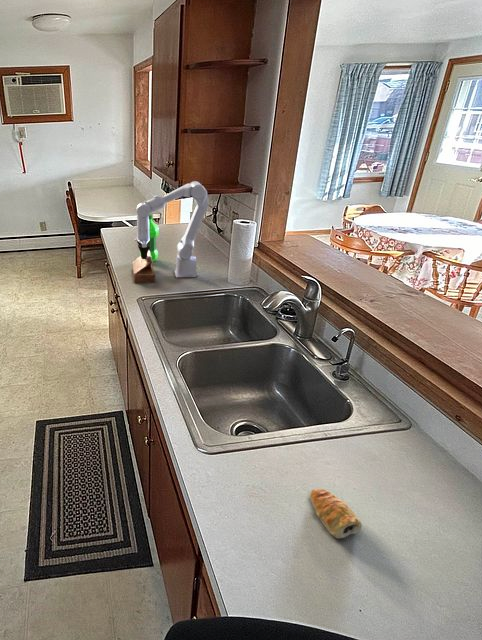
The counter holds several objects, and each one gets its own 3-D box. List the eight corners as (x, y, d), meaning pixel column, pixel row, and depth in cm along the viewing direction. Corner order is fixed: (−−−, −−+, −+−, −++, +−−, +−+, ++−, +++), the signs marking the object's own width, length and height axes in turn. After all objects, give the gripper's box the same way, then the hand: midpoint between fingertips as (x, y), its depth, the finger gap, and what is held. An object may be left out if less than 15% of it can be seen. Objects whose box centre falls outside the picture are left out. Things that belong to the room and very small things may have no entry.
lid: (149, 250, 193) (143, 243, 191) (152, 262, 179) (146, 254, 177) (133, 262, 196) (127, 255, 194) (134, 275, 181) (128, 267, 180)
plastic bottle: (136, 258, 211) (135, 213, 201) (154, 256, 214) (154, 211, 204) (143, 265, 202) (143, 218, 192) (162, 262, 205) (162, 215, 195)
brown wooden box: (151, 269, 197) (151, 262, 195) (154, 282, 183) (154, 274, 181) (132, 270, 197) (132, 263, 196) (134, 282, 183) (134, 275, 181)
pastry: (300, 499, 81) (303, 486, 80) (326, 490, 83) (330, 477, 81) (335, 543, 73) (339, 530, 72) (364, 532, 75) (369, 518, 73)
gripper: (133, 225, 187) (134, 251, 193) (135, 234, 174) (136, 262, 179) (148, 224, 187) (148, 251, 192) (151, 233, 174) (151, 262, 179)
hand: (143, 256), depth 186 cm, fingers closed on lid, 5 cm apart
